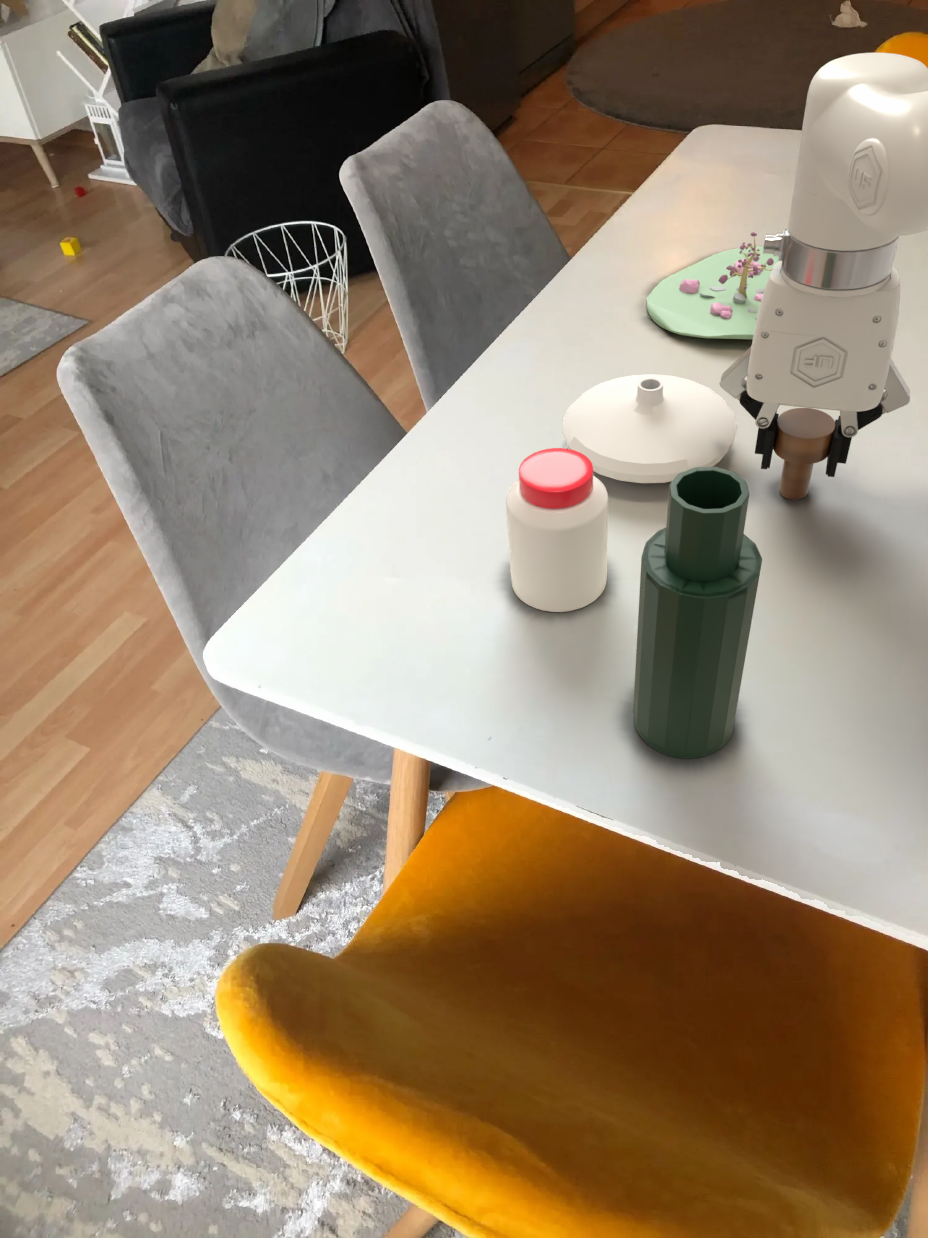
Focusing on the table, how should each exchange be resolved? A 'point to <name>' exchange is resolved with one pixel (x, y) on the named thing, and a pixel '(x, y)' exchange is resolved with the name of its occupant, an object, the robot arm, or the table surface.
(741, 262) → the plant
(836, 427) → the robot arm
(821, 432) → the stopper
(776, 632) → the table surface
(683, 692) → the bottle
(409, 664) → the table surface
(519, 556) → the pill bottle
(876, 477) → the table surface
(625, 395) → the vase
